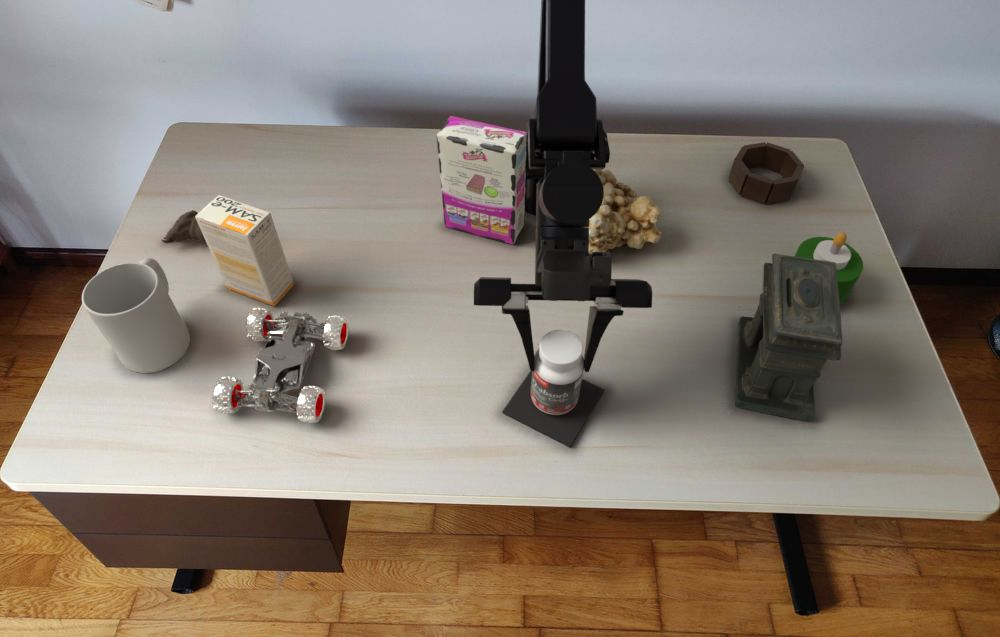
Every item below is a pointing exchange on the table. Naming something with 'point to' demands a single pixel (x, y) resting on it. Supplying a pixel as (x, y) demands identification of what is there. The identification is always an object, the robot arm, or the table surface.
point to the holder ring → (761, 186)
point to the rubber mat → (554, 425)
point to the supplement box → (246, 249)
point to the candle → (835, 259)
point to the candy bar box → (483, 178)
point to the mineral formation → (622, 217)
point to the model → (789, 337)
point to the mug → (137, 315)
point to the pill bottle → (557, 372)
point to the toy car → (282, 365)
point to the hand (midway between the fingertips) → (559, 371)
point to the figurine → (185, 229)
